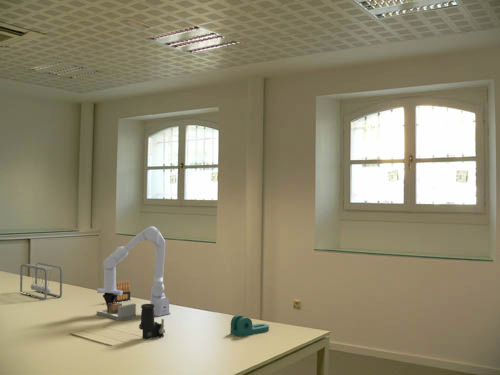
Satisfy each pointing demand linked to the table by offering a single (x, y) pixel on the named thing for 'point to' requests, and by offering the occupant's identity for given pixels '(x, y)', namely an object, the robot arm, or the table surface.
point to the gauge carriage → (113, 307)
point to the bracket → (246, 326)
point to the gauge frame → (121, 312)
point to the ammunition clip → (125, 291)
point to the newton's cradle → (40, 287)
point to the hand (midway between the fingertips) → (109, 308)
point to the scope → (150, 323)
